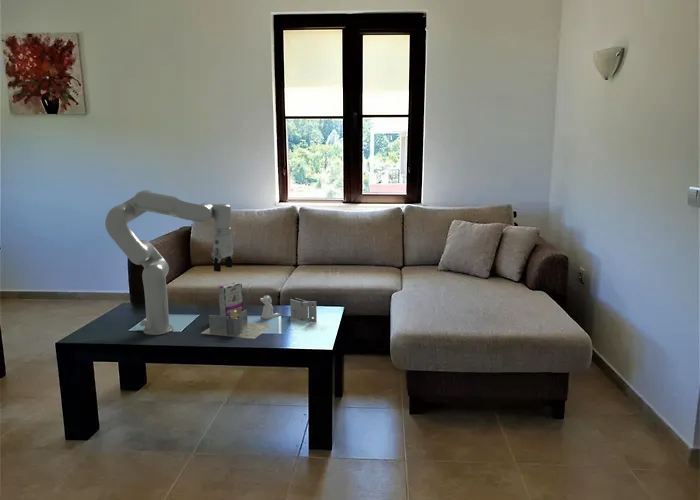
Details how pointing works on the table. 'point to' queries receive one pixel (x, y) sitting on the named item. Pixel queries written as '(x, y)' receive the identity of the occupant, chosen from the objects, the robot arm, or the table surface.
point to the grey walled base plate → (235, 326)
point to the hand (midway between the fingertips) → (223, 269)
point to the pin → (233, 314)
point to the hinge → (303, 310)
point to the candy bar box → (230, 298)
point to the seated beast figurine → (268, 308)
